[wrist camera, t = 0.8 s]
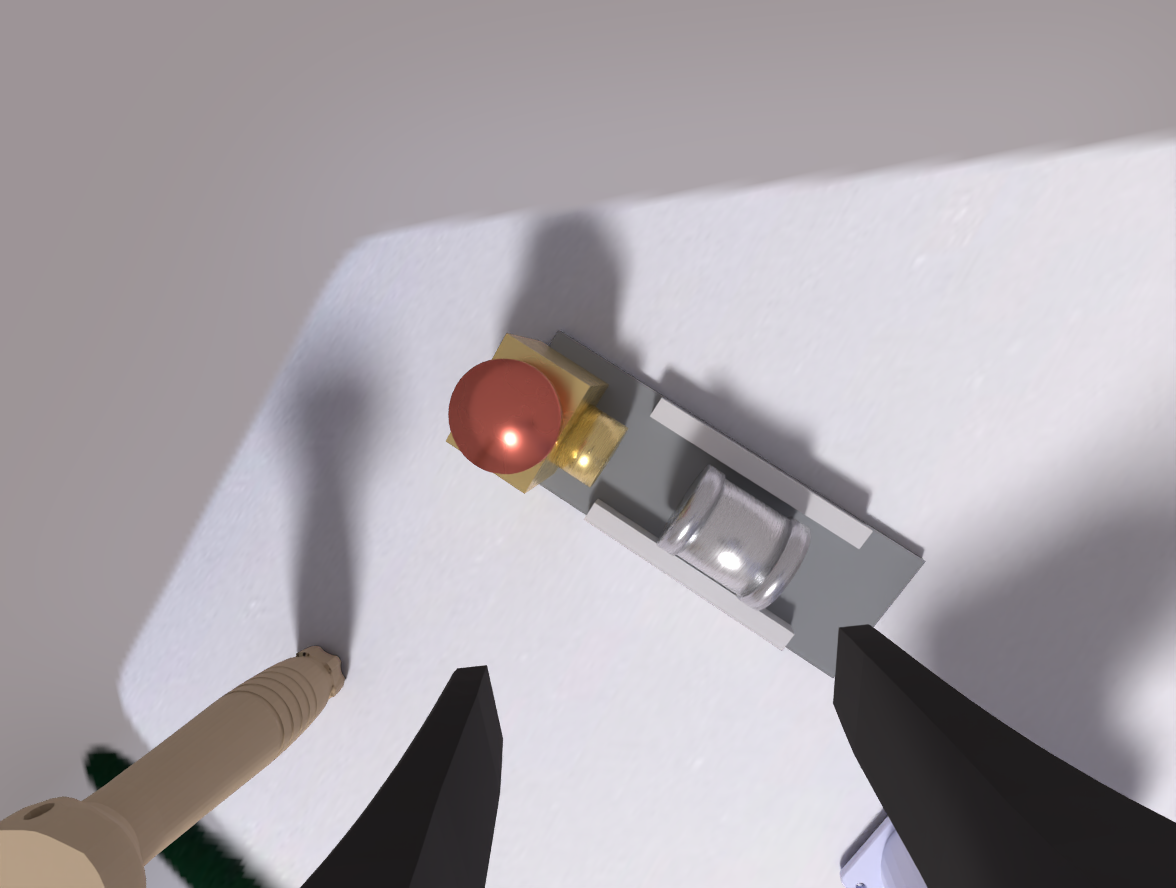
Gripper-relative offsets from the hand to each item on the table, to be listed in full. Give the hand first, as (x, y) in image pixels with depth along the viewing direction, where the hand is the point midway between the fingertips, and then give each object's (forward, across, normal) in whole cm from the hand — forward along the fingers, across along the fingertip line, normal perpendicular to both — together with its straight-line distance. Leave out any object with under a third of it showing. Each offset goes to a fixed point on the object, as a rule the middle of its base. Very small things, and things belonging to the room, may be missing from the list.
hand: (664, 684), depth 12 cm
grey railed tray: (+16, -4, +5) cm, 17 cm away
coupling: (+15, -5, +6) cm, 17 cm away
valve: (+19, +3, 0) cm, 19 cm away
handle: (+18, +18, +14) cm, 29 cm away
